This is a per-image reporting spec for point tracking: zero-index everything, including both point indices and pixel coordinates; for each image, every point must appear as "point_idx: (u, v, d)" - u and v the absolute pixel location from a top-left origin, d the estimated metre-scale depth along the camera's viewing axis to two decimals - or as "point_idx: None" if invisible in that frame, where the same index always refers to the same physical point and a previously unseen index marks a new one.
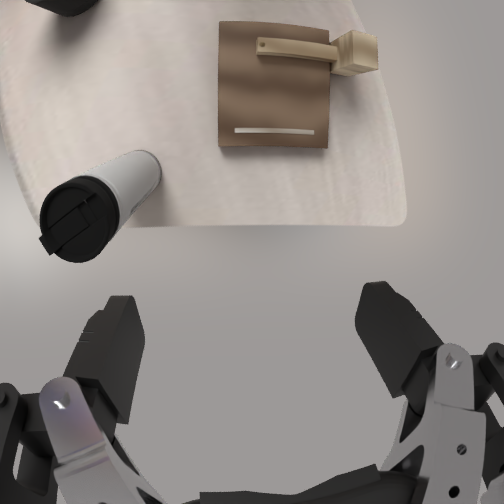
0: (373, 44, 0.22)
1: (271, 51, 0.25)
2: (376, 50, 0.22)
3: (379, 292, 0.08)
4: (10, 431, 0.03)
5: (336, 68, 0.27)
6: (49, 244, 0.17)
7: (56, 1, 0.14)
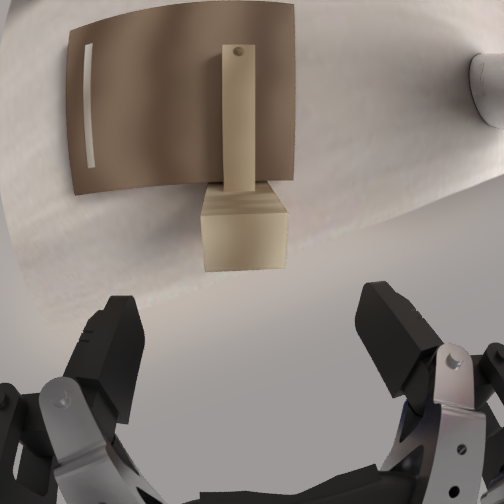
0: (263, 261, 0.15)
1: (224, 66, 0.14)
2: (250, 267, 0.15)
3: (379, 292, 0.08)
4: (11, 431, 0.03)
5: (207, 191, 0.18)
6: None
7: None
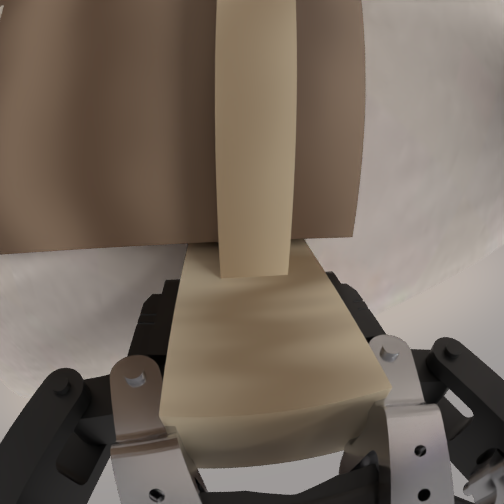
0: (311, 452, 0.05)
1: None
2: (283, 460, 0.06)
3: None
4: (66, 422, 0.04)
5: (186, 273, 0.08)
6: None
7: None
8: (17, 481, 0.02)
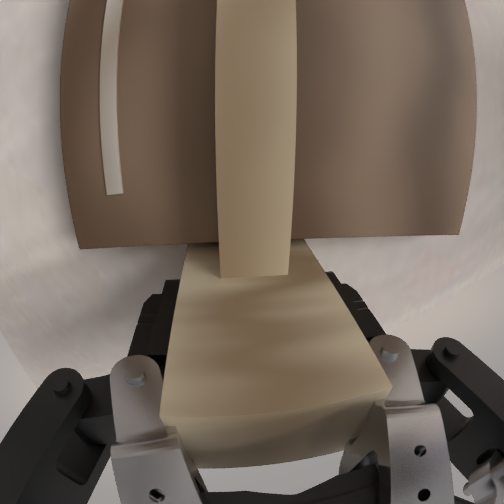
0: (312, 452, 0.05)
1: None
2: (283, 460, 0.06)
3: None
4: (66, 422, 0.04)
5: (186, 274, 0.08)
6: None
7: None
8: (17, 481, 0.02)
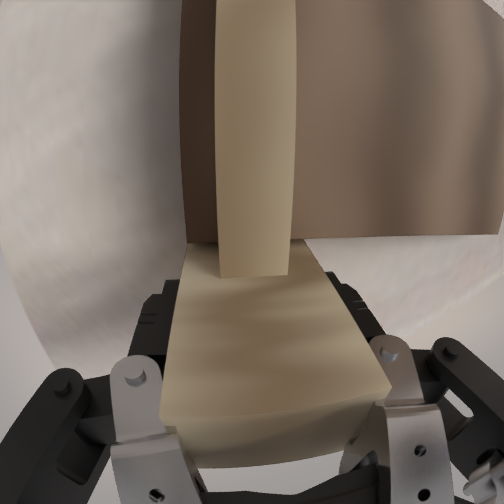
0: (311, 452, 0.05)
1: None
2: (283, 460, 0.06)
3: None
4: (66, 422, 0.04)
5: (185, 274, 0.08)
6: None
7: None
8: (17, 481, 0.02)
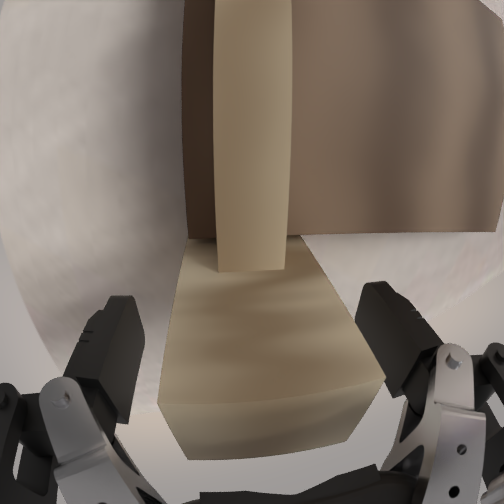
0: (308, 444, 0.06)
1: None
2: (280, 452, 0.06)
3: (379, 292, 0.08)
4: (11, 431, 0.03)
5: (184, 268, 0.08)
6: None
7: None
8: None
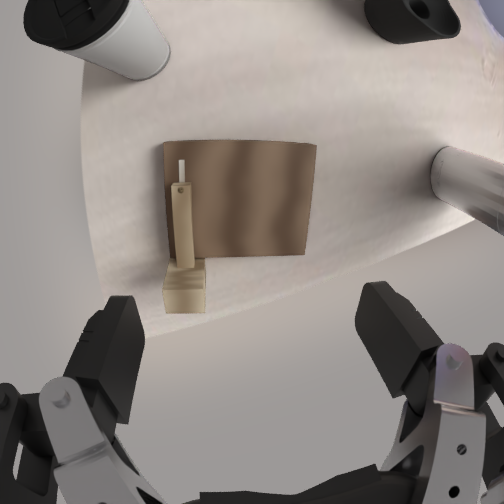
0: (193, 309, 0.29)
1: (173, 200, 0.28)
2: (187, 312, 0.29)
3: (379, 292, 0.08)
4: (11, 431, 0.03)
5: (169, 266, 0.32)
6: None
7: None
8: None
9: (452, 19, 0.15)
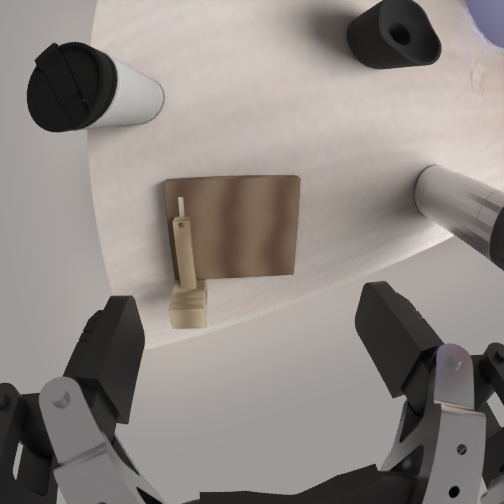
0: (196, 325, 0.34)
1: (174, 233, 0.33)
2: (191, 327, 0.34)
3: (379, 292, 0.08)
4: (11, 431, 0.03)
5: (174, 288, 0.37)
6: (45, 58, 0.10)
7: (371, 25, 0.20)
8: None
9: (433, 42, 0.19)
